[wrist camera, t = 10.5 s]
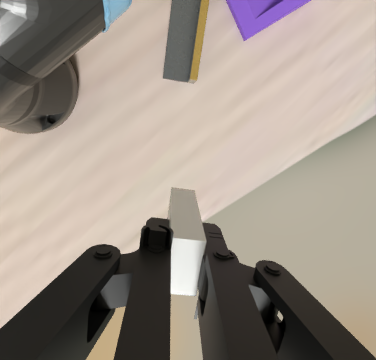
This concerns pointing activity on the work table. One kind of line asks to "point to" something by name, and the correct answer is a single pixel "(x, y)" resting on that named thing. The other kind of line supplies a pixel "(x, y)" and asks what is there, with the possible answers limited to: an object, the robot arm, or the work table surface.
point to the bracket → (260, 13)
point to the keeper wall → (185, 40)
